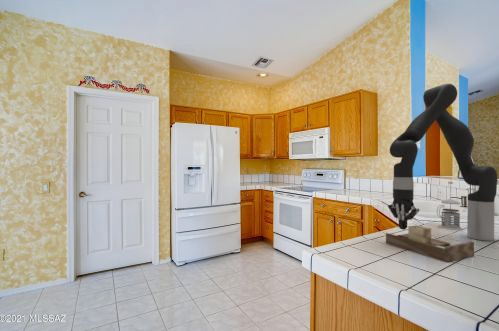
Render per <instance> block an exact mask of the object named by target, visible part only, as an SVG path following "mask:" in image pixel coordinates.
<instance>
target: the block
mask: <svg viewBox="0 0 499 331" xmlns="http://www.w3.org/2000/svg"><path fill="white" fill-rule="evenodd" d="M407 228H408V229H407V230H408V231H407V232H408V233H407V234H408V239H411V240H414V241H418V242H422V243H426V244H431V239H432V228H431V227H427V226H422V225H418V224H417V225H411V226H410V225H409V226H408V225H407Z"/></svg>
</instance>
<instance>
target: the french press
mask: <svg viewBox="0 0 499 331" xmlns="http://www.w3.org/2000/svg"><path fill="white" fill-rule="evenodd" d="M448 184H450V186H449V187H450V192H449V196H450V198H449V199H445V200H442V201H441V203H442V204H440V205H439V206H438V207H437V209H436V214H437V216H439V218H440V219H441V224H440V225H439V226H440V227H439V228H441V229H446V230H450V231H461V230H462V231H463V229H462V227H461V226H460V225H461V224H460V223H461V217H460V216H461V214H460V213H459V212H460V210H459V209H455V208H454V209H453V208H452V207H451V206H452V205H460V204H461V202H460V201H457V200H455V199H452V198H451V197H452V194H451V193H452V185H453V184H454V182H453V181H448ZM444 204H445V205H448V204H449V205H450V206H449V208H445V207H446V206H445V205H444ZM439 207H440V208H439ZM441 208H442V211H441ZM440 211H441V212H440ZM438 212H439V213H438Z"/></svg>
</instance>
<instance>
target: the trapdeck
mask: <svg viewBox="0 0 499 331" xmlns="http://www.w3.org/2000/svg"><path fill="white" fill-rule="evenodd" d="M385 243H386V244H388V245H391V246H395V247H398V248H402V249H404V250H408V251H412V252H415V253H418V254H421V255H423V256H427V257H429V258H430V257H431V258H434V259H437V260H440V261H443V262H446V263H449V262H453V261H458V260H462V259H463V260H464V259H466V258H471V257H475V242H474V241H468V242H462V243H457V244H452V245H451V244H450V242H447V241H443V240H439V239H435V238H431V244H426V243H422V242H418V241H414V240H411V239H408V233H404V234H397V235H395V234H391V233H387V232H386V233H385Z"/></svg>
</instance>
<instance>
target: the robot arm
mask: <svg viewBox="0 0 499 331" xmlns="http://www.w3.org/2000/svg"><path fill="white" fill-rule="evenodd" d="M457 97H458V89H457V87H456V86H455V85H454V84H452V83H444V84H440V85H437V86H435V87H431V88H430V89H427V90H425V91H424V93H423V102H424V105H425V107H426V109H425V110H424V111H422V112H421V113H420V114H419V115H417V116H416V117H415V118H414V119H413V120H412V121H411V122H410V124H409V125H408V127H407V128H406V129H405V131H404V132H403V133H402V134H400V135H399V136H397V138H396V139H394V141H392V143H391V144H390V145H389V146H390V147H389V154H390V155H391V156H392V157H393V158H398V159H400V158H401V159H400V161H399V162H397V163H395V164H394V165H393V180H392V199H393V201H392V203H391V204H388V205H387V207H388V209H389V210H390V213H391V214H392V215H393V217H394V218H396V219H397V220H398V228H399V229H400V230H406V229H407V228H408V221H409V220H410V221H411V220H413V219H414V217H415V216H416V215H417V214H418V213H419V212H420V209H419V208H417V207H416V206H415V203H414V202H413V201H414V192H415V191H414V189H415V188H414V165H415V162H416V159H417V156H418V153H419V152H418V151H419V147H418V145H417V143H418V142H420V141H421V140H422V139H423V138H424V136H425V135H426V133H427V132H428V130H429V129H430V127H431V126H432V125H433V124H434V122H436V124H437V125H438V127H439V129H440V131H441V133H442V135H443V136H444V139H445V141H446V143H447V144H448V147H449V149H450V150H451V152H452V154H453V157H454V158H455V161H456V163H457V166H458V168H459V172H460V174H461V177H462V179H463V181H464V182H465V183H466V184H467V185H469V186H475V187H478V189H477V191H474V192H471V193H468V194H467V226H466V227H467V229H466V230H467V235H466V236H467V237H468V238H470V239H474V240H480V241H484V242H485V241H487V242H488V241H489V242H491V241H495V198H496V197H497V190H498V172H497V170H496V168H494V167H493V166H489V165H475V163H474V161H473V159H472V155H471V154H472V151H473V148H474V144H475V140H474V137H473V134H472V132H471V130H470V128H469V127H468V126H467V125H466V124H465V123H464V122H462V121H461V120H460V119H458V118H456V117H454V116H453V115H452V114H451V113H450V112H449V110H447V109H448V108H449V107H450V106H451V105H452V104H454V102H455V101H456V99H457Z"/></svg>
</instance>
